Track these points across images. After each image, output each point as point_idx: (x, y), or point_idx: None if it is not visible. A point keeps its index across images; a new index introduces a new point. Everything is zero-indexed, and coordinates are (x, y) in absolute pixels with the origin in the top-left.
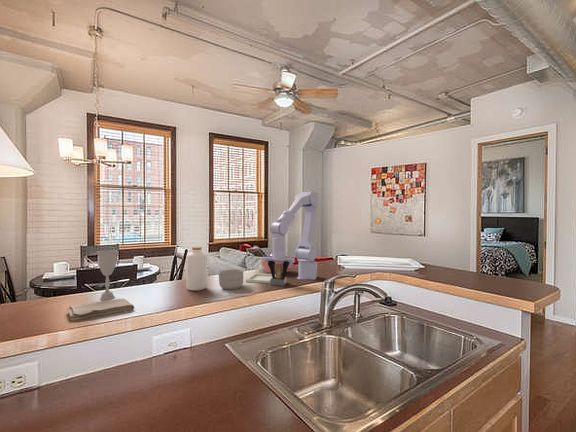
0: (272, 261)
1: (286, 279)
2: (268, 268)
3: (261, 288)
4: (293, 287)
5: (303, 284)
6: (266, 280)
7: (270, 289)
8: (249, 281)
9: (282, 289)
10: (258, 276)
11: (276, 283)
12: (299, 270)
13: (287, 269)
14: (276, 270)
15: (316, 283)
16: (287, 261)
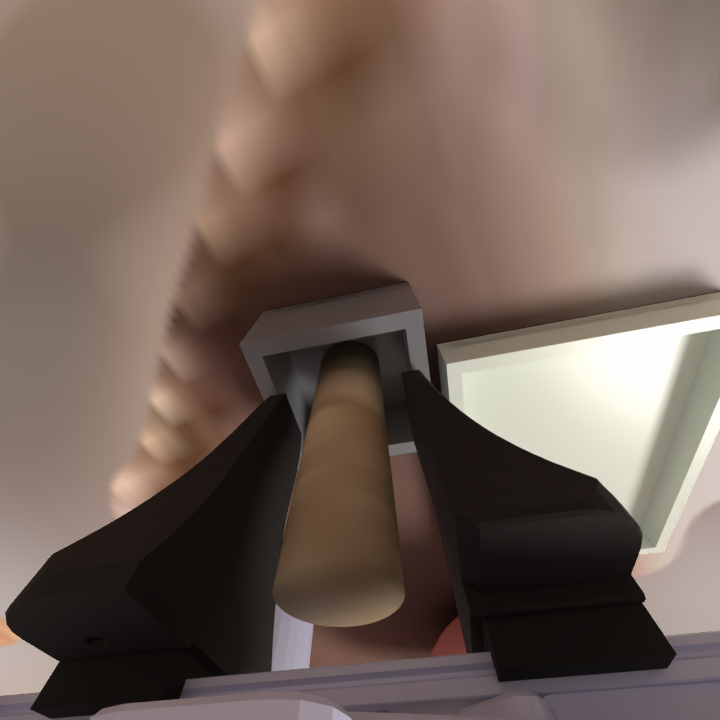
0: (512, 651)
1: None
2: None
3: (473, 129)
4: (175, 338)
5: (176, 457)
6: (492, 359)
7: (342, 131)
8: (695, 308)
9: (214, 205)
10: None
11: (338, 306)
12: (282, 632)
13: (430, 652)
14: (366, 451)
15: (119, 509)
16: (80, 718)
